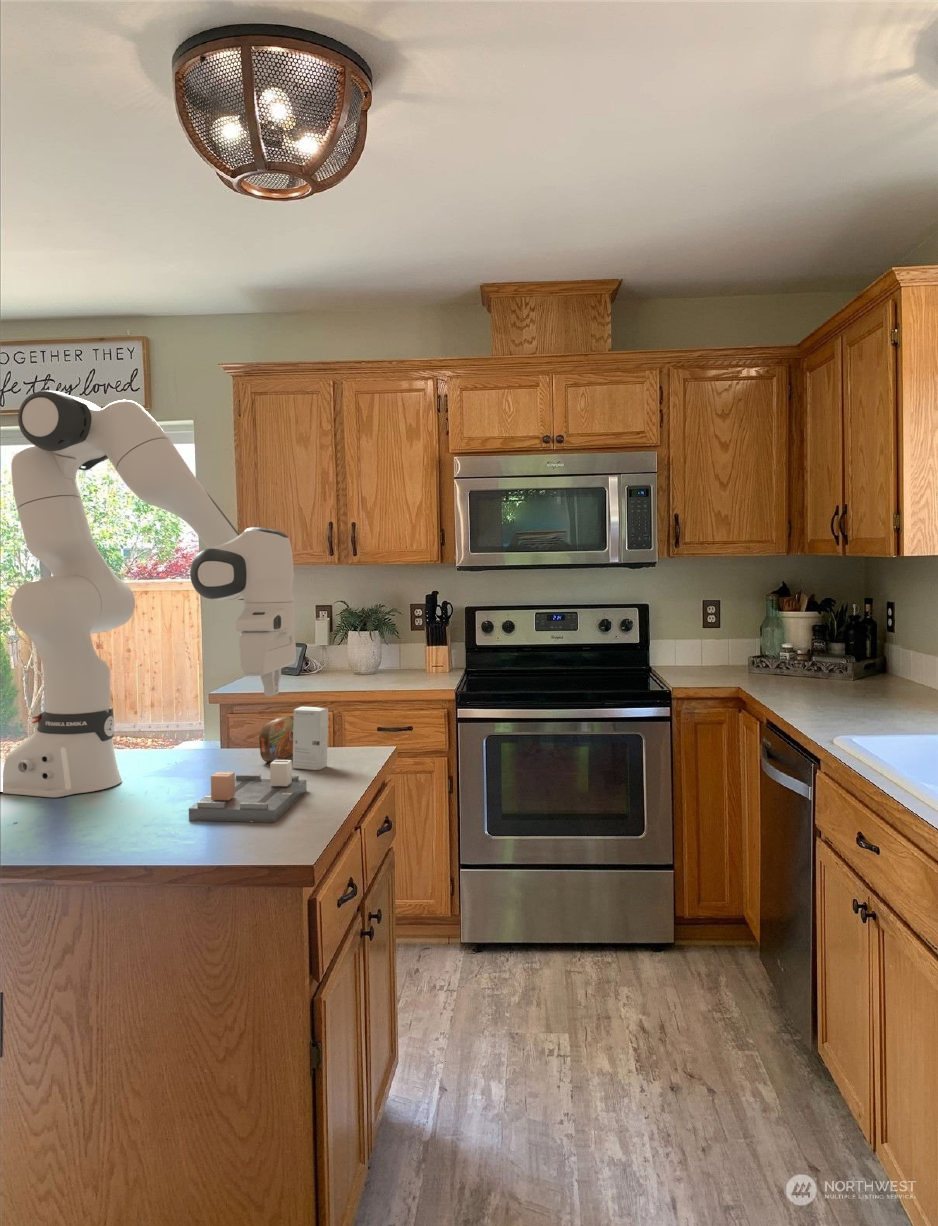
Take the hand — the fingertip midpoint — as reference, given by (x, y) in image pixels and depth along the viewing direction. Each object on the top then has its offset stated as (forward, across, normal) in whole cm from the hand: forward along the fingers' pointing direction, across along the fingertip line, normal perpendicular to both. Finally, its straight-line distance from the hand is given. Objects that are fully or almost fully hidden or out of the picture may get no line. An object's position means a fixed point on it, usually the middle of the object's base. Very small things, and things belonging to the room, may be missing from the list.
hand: (271, 695), depth 161 cm
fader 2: (+16, +2, +2) cm, 16 cm away
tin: (+18, -28, -8) cm, 34 cm away
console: (+18, +8, -1) cm, 20 cm away
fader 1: (+15, +12, -5) cm, 20 cm away
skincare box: (+18, -20, +1) cm, 27 cm away
